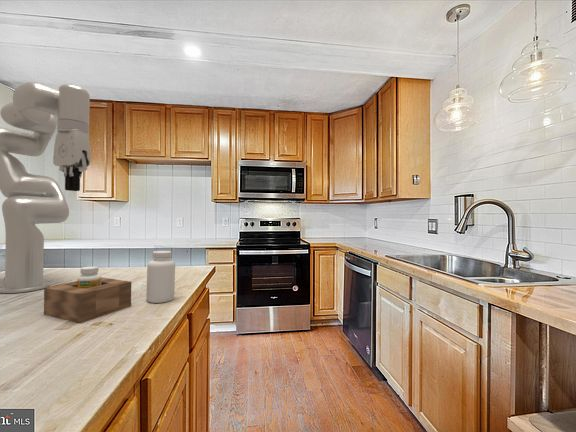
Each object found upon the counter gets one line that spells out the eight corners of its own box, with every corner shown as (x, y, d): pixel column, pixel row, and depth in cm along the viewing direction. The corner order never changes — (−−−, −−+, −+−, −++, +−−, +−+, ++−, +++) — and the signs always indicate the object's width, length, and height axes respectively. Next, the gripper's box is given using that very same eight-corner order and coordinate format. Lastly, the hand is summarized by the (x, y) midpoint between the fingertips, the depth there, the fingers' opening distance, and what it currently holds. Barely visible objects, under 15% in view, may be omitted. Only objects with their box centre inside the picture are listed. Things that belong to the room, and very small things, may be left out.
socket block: (43, 314, 72) (44, 287, 72) (97, 299, 85) (97, 276, 85) (79, 323, 67) (80, 294, 67) (130, 305, 80) (131, 281, 80)
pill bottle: (179, 298, 88) (180, 251, 88) (156, 305, 81) (157, 254, 81) (164, 294, 92) (165, 249, 92) (140, 300, 86) (141, 251, 85)
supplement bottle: (101, 298, 80) (101, 265, 80) (100, 303, 76) (101, 268, 76) (77, 301, 77) (78, 266, 77) (76, 306, 73) (76, 270, 73)
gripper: (43, 127, 83) (42, 189, 83) (77, 123, 77) (75, 189, 77) (70, 134, 90) (69, 191, 90) (103, 130, 84) (102, 191, 84)
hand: (72, 190), depth 84 cm, fingers closed
